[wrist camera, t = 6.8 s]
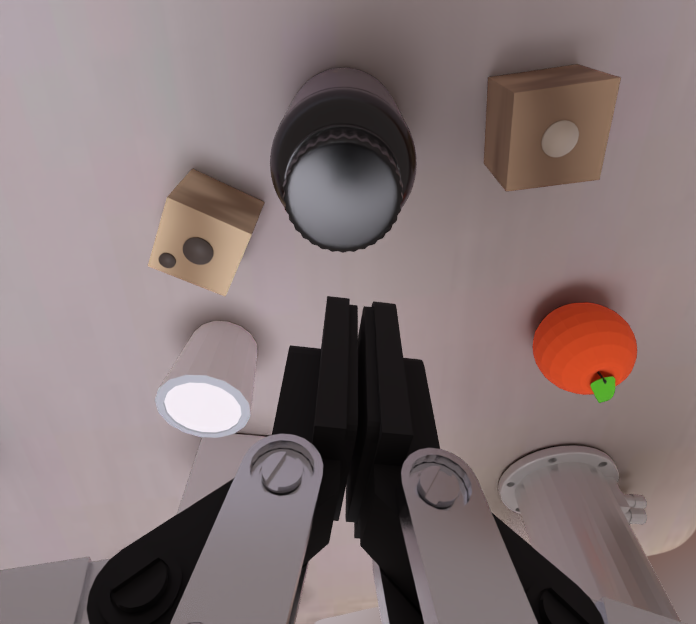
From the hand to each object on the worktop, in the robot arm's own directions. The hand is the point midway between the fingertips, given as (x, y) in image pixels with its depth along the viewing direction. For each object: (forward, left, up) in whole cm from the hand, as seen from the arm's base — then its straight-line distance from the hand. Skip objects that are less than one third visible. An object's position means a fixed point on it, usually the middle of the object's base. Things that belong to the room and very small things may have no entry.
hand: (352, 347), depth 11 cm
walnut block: (-11, -2, -20) cm, 23 cm away
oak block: (+8, +7, -20) cm, 23 cm away
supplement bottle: (0, 0, -20) cm, 20 cm away
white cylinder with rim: (+8, +19, -20) cm, 29 cm away
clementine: (-20, +13, -20) cm, 31 cm away
